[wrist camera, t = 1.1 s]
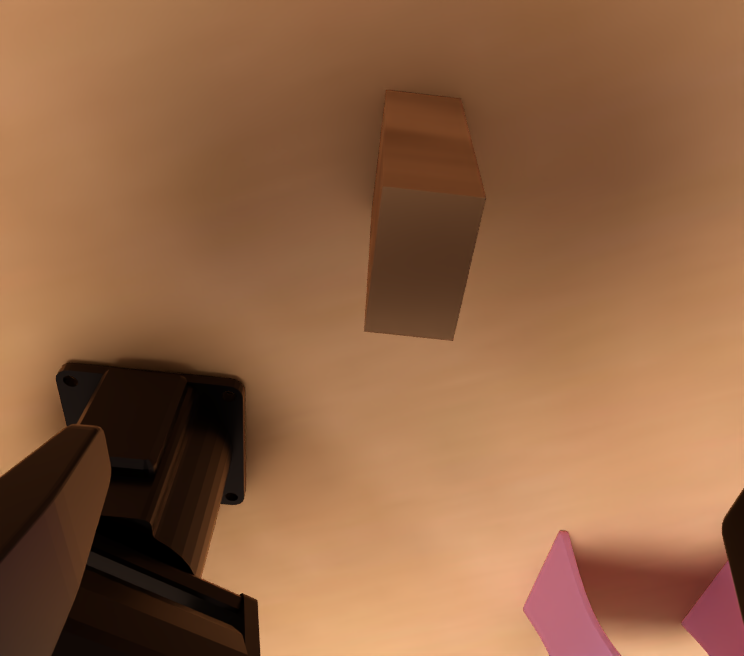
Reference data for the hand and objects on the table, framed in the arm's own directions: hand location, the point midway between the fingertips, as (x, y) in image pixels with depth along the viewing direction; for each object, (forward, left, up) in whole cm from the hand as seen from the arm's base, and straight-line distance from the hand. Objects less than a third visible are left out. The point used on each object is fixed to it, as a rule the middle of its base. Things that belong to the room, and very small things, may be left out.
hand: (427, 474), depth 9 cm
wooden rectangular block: (0, 0, -12) cm, 12 cm away
